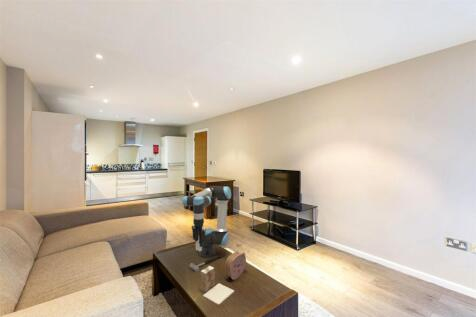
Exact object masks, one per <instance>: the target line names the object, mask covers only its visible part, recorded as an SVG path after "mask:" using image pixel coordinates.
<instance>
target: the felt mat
mask: <svg viewBox="0 0 476 317" xmlns="http://www.w3.org/2000/svg"><path fill="white" fill-rule="evenodd" d="M234 292H235V290H234V289H232V288H229V287H228V286H225V285H223V284H221V283H217V284H216V285H215V286H214V287H213V288H211V289H210V290H209V291H207V292H206V293H205V292H204V294H203V295H202V296H203V298H205V299H207V300H209V301H211V302H213V303H214V304H216V305H217V306H220V305H221V304H222V303H223V302H224V301H226V300H227V298H228V297H229V296H231V295H232V294H233V293H234Z"/></svg>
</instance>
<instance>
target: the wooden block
mask: <svg viewBox="0 0 476 317" xmlns="http://www.w3.org/2000/svg"><path fill="white" fill-rule="evenodd" d="M215 269H216V268H215V267H214V266H211V265H207V267H205V268H204V269H202V270H200V290H201V291H202V292H204V294H205V293H207V292H208V291H209V290H211V289H212V288H213V287H215V286H216V285H215V284H216V283H215V281H216V280H215V279H216V278H215V276H216V271H215Z"/></svg>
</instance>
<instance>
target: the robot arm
mask: <svg viewBox="0 0 476 317" xmlns="http://www.w3.org/2000/svg"><path fill="white" fill-rule="evenodd" d="M231 198H232V190H231V188H230V187H229V186H222V185H212V186H208V187H206V188H204V189H203V190H202V191H199V192H197V193H195V194H194V193H193V195H190V196H189V195H186V196H183V197H182V201H181V203H182V205H183V206H186V207H192V208H193V215H192V216H193V219H192V220H193V225H192V226H191V230H192V240H194V242H195V243H194V245H195V251H198V252H199V254H198V255H199V256H200V257H201V258H205V259H206V258H207V259H208V258H209V259H210V258H213V257H215V255H216V249H215V246H216V245H217V246H221V247H222V246H227V245H228V242H229V241H230V240H229V239H230V232H228V228H227V214H228V202H229V200H230V199H231ZM212 199H216V202H218V203H217V216H216V217H217V219H216V220H217V221H216V229H214V228H211V227H210V228H204V223H205V208H207V207H209V206H210V205H211V203H212Z"/></svg>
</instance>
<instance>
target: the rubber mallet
mask: <svg viewBox="0 0 476 317" xmlns="http://www.w3.org/2000/svg"><path fill="white" fill-rule="evenodd" d="M220 258H222V255H221V254H218V255H216V256H212V257H210V258H209V259H208V260H205V261H203V262H201V263H199V264H197V265H196V264H195V263H193V262H191V263H190V264H189V266H188V267H189V268H190V269H191V270H193V271H195V273H198V272H200V271H201V270H200V267H201V266H203V265H206V264H208V263H211V262H213V261H215V260H218V259H220Z"/></svg>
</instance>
